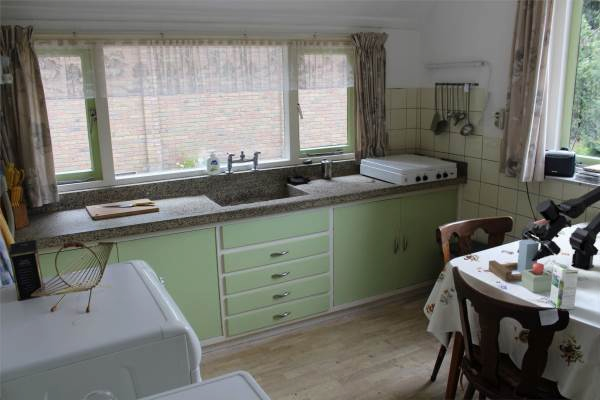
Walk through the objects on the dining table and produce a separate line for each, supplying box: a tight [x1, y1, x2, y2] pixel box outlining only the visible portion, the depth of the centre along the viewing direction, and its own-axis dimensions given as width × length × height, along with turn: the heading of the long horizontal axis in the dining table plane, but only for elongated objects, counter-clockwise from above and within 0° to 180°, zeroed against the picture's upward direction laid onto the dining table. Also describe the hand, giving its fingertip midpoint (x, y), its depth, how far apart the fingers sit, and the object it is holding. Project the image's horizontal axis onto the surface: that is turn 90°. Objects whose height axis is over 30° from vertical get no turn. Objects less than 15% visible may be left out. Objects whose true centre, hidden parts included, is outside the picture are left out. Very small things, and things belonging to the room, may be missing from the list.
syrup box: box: [549, 263, 579, 310], centre depth 174 cm, size 6×6×14 cm
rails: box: [500, 262, 552, 282], centre depth 204 cm, size 17×12×2 cm
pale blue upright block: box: [516, 239, 540, 274], centre depth 203 cm, size 5×5×13 cm
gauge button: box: [533, 262, 545, 274], centre depth 189 cm, size 4×4×3 cm
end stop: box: [488, 260, 513, 283], centre depth 203 cm, size 2×12×4 cm, turn 10°
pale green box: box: [520, 269, 553, 294], centre depth 190 cm, size 8×7×6 cm
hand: (524, 256), depth 203 cm, fingers open, 9 cm apart
